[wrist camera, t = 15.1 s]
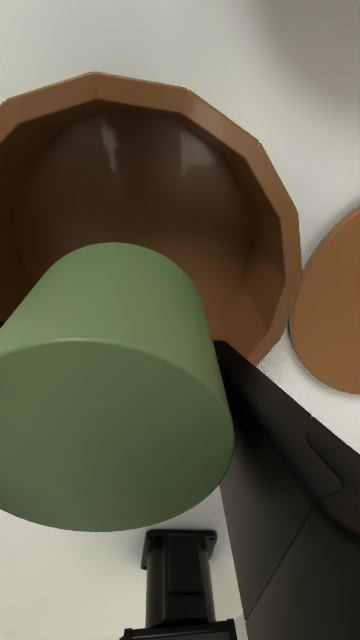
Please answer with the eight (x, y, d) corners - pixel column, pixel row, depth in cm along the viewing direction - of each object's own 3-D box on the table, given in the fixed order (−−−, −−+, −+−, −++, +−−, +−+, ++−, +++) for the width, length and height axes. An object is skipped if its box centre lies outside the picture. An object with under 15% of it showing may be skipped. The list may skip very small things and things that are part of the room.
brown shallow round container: (230, 354, 20) (251, 424, 15) (20, 337, 18) (-28, 408, 14) (292, 122, 14) (360, 118, 9) (-14, 69, 12) (-120, 32, 8)
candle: (191, 393, 11) (207, 535, 7) (39, 383, 10) (-31, 530, 7) (220, 253, 9) (270, 354, 5) (24, 229, 8) (-103, 322, 4)
